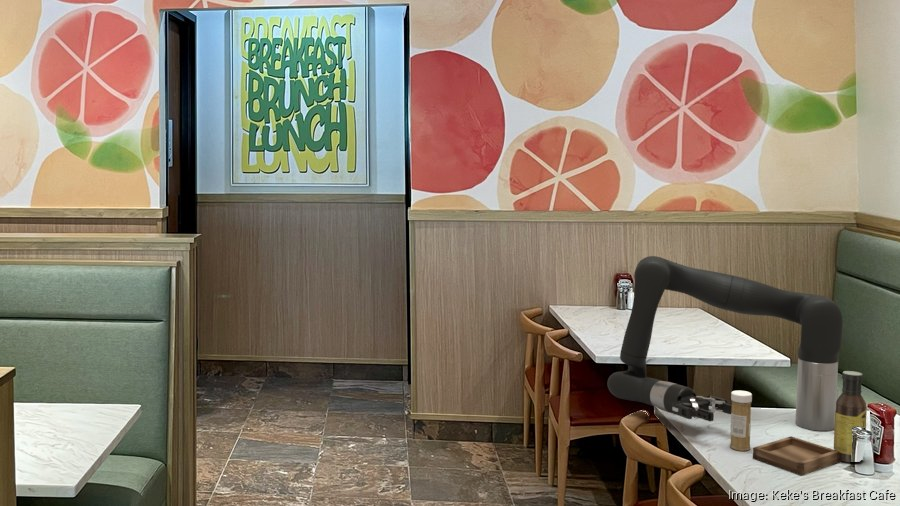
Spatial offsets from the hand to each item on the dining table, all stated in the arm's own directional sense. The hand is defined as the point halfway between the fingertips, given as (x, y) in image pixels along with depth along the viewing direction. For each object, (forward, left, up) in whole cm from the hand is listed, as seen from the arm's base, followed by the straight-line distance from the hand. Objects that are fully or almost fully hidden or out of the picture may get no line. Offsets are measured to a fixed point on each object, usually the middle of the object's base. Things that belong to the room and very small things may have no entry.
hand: (724, 414), depth 184 cm
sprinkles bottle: (0, +5, -7) cm, 8 cm away
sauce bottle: (-15, +22, -7) cm, 28 cm away
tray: (-4, +16, -7) cm, 18 cm away
